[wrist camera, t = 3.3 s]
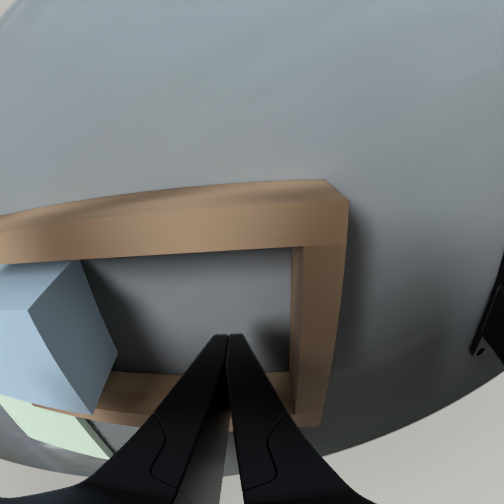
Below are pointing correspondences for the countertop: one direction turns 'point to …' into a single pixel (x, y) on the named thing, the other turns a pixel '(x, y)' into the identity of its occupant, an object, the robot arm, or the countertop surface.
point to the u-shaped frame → (206, 240)
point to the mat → (56, 428)
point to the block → (52, 336)
